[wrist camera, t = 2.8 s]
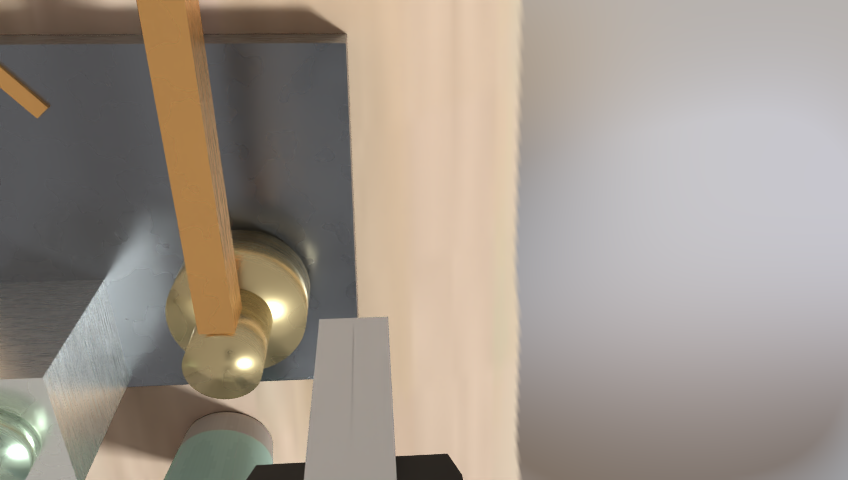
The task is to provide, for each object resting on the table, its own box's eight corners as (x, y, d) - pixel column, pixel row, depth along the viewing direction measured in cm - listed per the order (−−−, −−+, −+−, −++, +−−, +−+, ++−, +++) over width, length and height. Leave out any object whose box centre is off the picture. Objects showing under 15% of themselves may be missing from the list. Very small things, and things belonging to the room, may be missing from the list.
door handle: (314, 335, 39) (305, 422, 33) (190, 339, 38) (157, 429, 32) (283, -50, 29) (261, -28, 23) (115, -51, 28) (47, -29, 22)
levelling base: (360, 356, 43) (359, 501, 33) (32, 369, 41) (-71, 525, 31) (346, 33, 33) (340, 103, 23) (-83, 35, 31) (-283, 110, 22)
